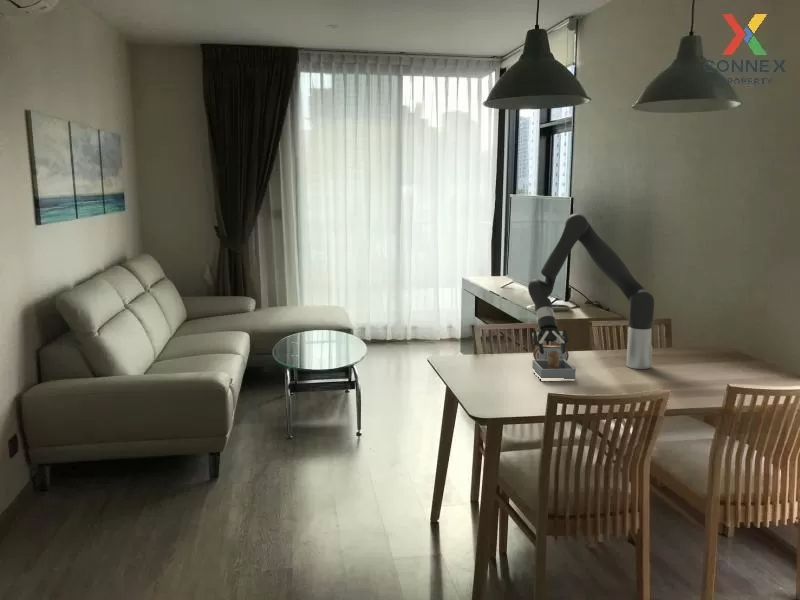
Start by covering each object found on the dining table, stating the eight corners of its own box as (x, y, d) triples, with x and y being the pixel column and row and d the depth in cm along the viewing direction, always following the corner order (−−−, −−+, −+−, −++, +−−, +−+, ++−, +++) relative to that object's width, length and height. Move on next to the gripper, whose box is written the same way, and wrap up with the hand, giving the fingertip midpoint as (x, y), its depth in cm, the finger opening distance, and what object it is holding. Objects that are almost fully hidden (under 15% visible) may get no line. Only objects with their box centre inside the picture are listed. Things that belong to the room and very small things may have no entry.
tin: (567, 363, 278) (568, 344, 276) (568, 365, 275) (569, 346, 273) (532, 362, 279) (533, 344, 278) (533, 364, 276) (534, 345, 275)
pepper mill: (556, 372, 261) (557, 349, 259) (559, 375, 256) (560, 351, 255) (546, 372, 261) (547, 349, 259) (549, 375, 256) (549, 351, 255)
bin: (564, 371, 266) (564, 359, 265) (574, 381, 252) (575, 369, 251) (532, 371, 265) (532, 359, 265) (540, 381, 251) (541, 369, 250)
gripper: (531, 315, 265) (537, 348, 255) (565, 314, 265) (572, 348, 256) (528, 325, 271) (534, 358, 261) (561, 324, 271) (568, 357, 262)
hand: (553, 353), depth 259 cm, fingers open, 8 cm apart
